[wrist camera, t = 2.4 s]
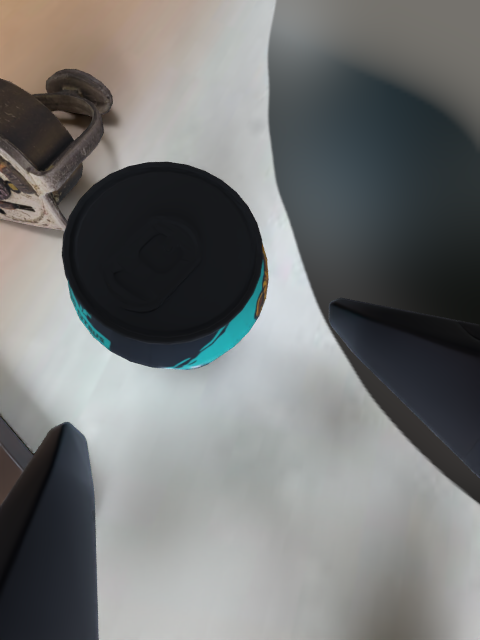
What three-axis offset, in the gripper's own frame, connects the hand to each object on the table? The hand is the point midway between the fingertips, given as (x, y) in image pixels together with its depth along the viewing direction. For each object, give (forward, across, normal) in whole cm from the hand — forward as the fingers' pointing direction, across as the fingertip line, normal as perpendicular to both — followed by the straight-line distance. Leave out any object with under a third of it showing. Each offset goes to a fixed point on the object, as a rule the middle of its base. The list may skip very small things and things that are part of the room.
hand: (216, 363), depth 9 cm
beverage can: (+10, 0, +5) cm, 11 cm away
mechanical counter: (+21, +4, -5) cm, 22 cm away
